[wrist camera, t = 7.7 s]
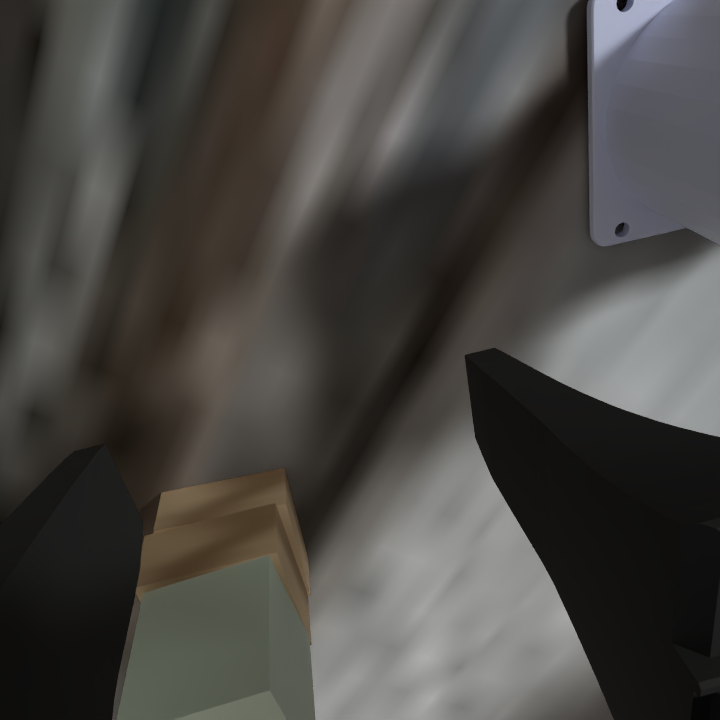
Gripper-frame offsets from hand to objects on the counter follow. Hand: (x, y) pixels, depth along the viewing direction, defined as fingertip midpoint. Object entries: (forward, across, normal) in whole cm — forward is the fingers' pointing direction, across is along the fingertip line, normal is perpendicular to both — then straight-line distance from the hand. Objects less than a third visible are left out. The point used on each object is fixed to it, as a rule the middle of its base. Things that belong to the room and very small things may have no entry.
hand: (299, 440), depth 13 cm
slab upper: (+8, +5, +11) cm, 15 cm away
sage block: (+6, +5, +11) cm, 13 cm away
